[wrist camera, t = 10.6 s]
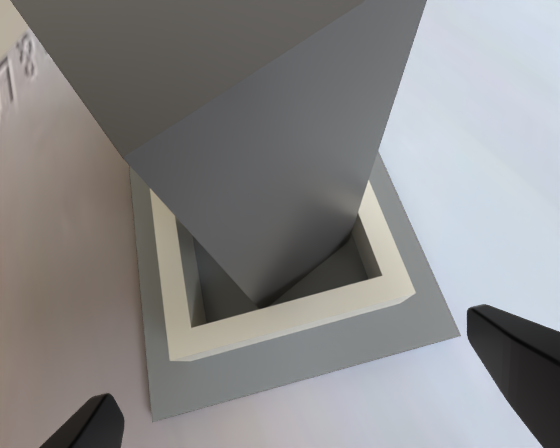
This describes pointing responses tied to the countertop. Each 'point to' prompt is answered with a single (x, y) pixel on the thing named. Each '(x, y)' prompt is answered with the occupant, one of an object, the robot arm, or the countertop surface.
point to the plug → (241, 113)
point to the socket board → (279, 306)
